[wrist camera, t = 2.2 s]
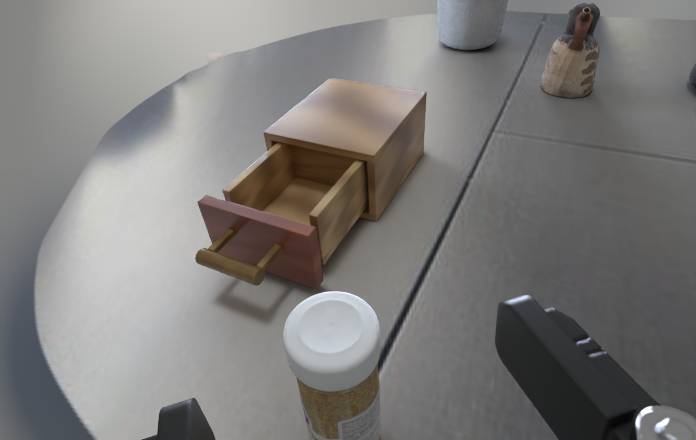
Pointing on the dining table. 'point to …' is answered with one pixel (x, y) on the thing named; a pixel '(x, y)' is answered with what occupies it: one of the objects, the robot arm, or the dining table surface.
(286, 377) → the dining table surface
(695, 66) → the teapot
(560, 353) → the robot arm
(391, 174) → the cabinet
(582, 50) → the figurine
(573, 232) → the dining table surface
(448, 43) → the planter
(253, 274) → the drawer
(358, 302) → the sprinkles bottle
